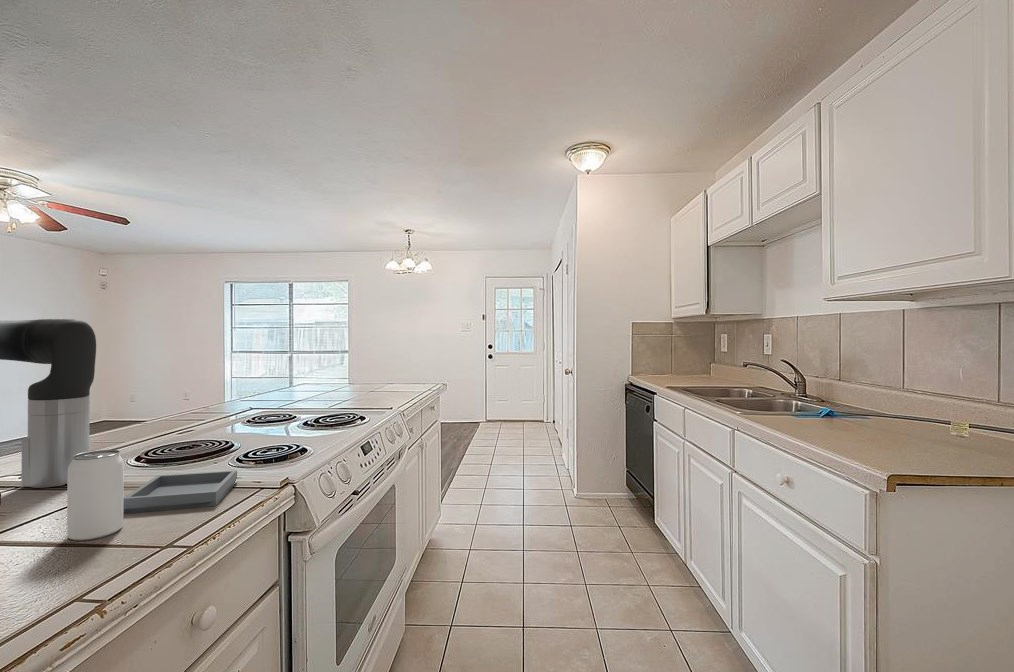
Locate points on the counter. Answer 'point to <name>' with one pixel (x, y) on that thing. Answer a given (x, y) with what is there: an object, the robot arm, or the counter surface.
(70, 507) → the can
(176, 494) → the bin
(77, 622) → the counter surface
